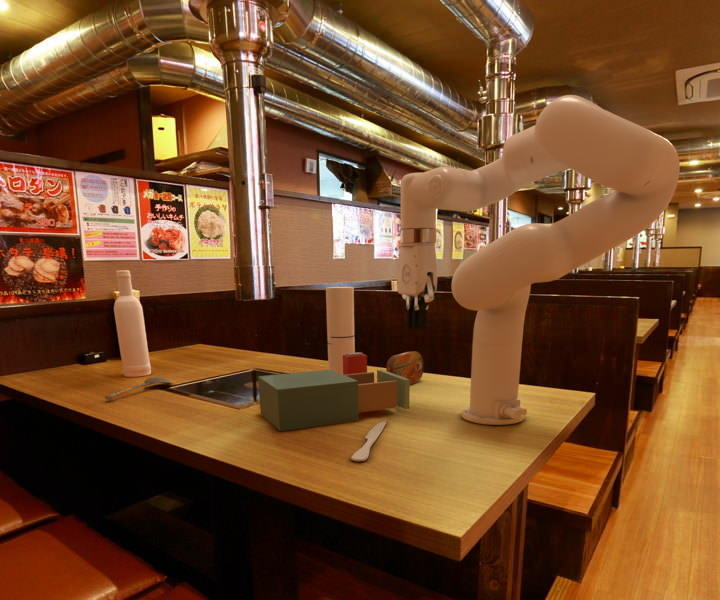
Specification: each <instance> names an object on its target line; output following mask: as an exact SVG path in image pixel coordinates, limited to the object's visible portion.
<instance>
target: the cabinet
mask: <svg viewBox="0 0 720 600" xmlns="http://www.w3.org/2000/svg"><path fill="white" fill-rule="evenodd" d="M257 379H258V381H257V382H258V395H259V407H260V408H259V409H260V415H261V416H262V417H263V418H265V419H266V421H268V422H269V423H270V424H271V425H272V426H274V428H276V429H277V430H278V432H285V431H292V430H300V429H301V430H302V429H307V428H314V427H322V426H323V427H324V426H330V425H336V424H344V423H345V424H346V423H352V422H359V420H360V417H359V415H360V414H359V413H358V381H357V380H354V379H352V378H350V377H347V376H345V375H343V374H341V373H338V372H336V371H334V370H329V369H322V370H311V371H300V372H291V373H282V374H281V373H280V374H269V375H259V376H257Z"/></svg>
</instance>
